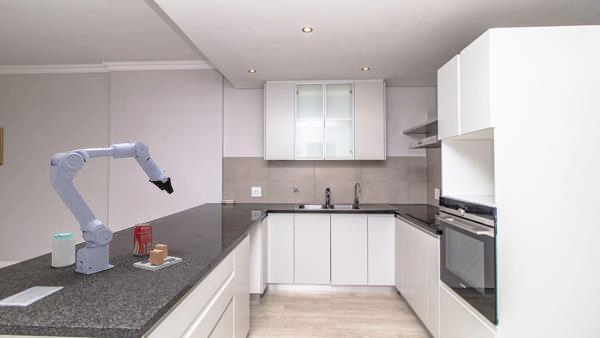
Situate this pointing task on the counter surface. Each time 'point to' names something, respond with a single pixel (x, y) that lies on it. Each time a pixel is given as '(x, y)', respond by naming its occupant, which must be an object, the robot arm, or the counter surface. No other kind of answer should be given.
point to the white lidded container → (63, 250)
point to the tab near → (156, 257)
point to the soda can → (142, 239)
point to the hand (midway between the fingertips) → (167, 191)
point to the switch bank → (153, 267)
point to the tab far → (162, 247)
